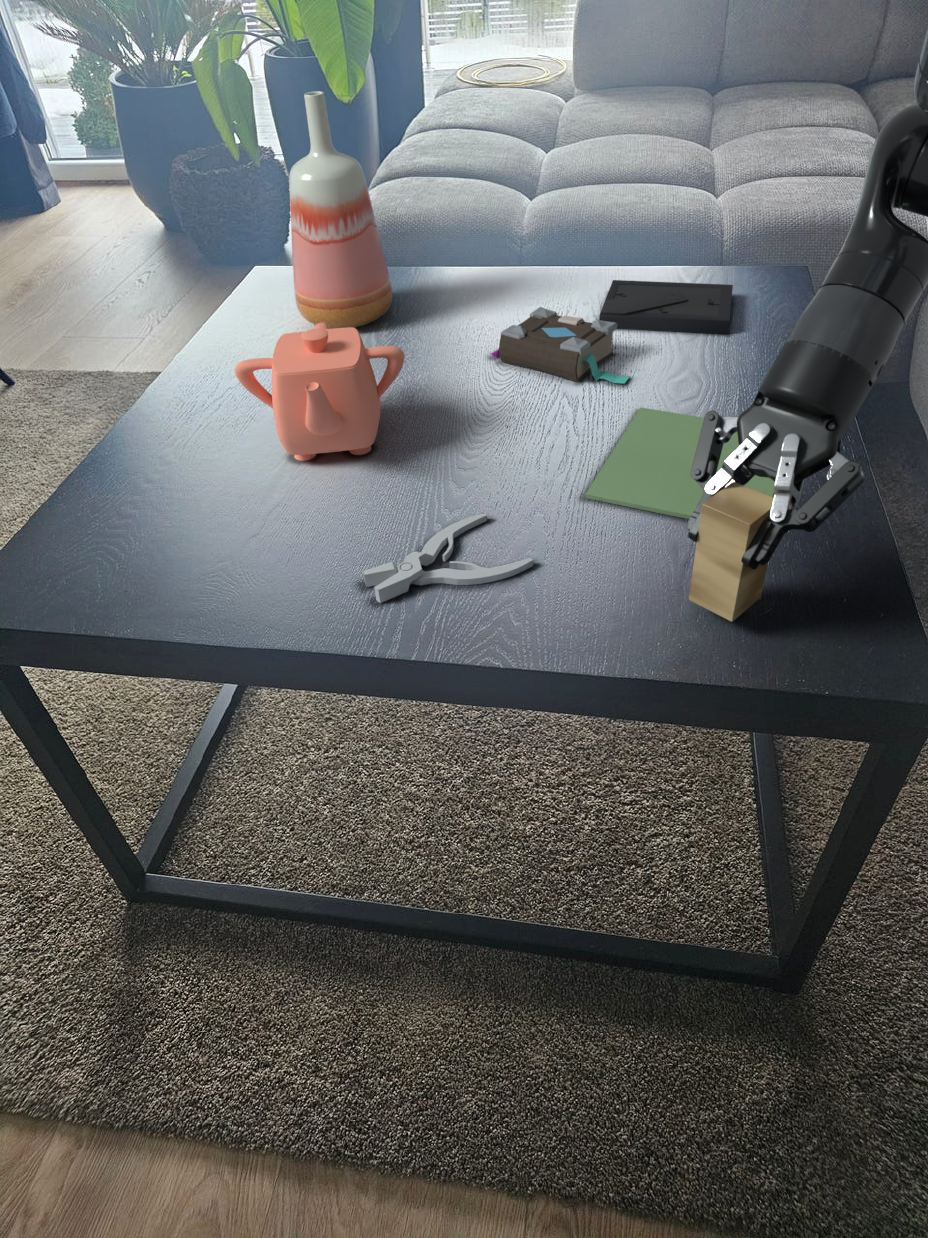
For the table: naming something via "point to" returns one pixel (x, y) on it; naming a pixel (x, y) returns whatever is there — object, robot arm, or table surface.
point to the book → (559, 345)
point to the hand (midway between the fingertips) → (721, 552)
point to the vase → (334, 233)
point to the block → (728, 551)
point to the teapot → (323, 390)
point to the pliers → (410, 571)
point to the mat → (660, 465)
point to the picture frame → (668, 306)
